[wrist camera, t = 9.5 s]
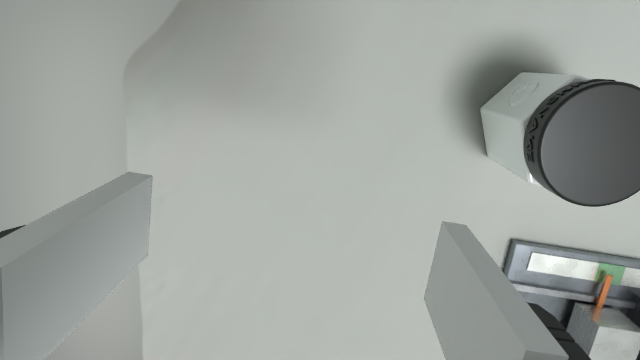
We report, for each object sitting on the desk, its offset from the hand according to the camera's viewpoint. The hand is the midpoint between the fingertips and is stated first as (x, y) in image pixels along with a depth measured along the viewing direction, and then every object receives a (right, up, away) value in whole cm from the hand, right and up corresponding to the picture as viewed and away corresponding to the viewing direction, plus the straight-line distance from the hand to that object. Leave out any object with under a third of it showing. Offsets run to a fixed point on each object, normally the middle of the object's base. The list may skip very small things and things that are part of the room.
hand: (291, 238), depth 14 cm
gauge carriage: (+27, -11, +28) cm, 40 cm away
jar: (+19, +7, +26) cm, 33 cm away
